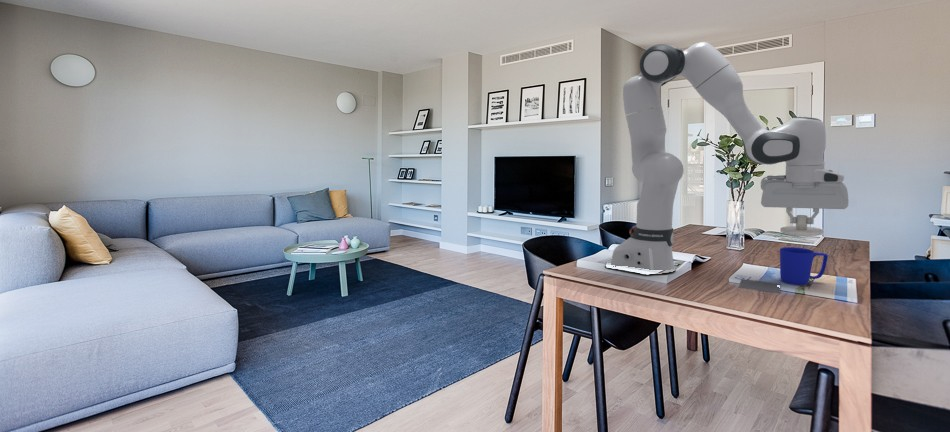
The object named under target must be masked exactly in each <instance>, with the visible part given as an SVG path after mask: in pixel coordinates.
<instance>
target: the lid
mask: <svg viewBox="0 0 950 432" xmlns="http://www.w3.org/2000/svg"><path fill="white" fill-rule="evenodd" d="M795 217H797V219H796V224H795V225H789V226H782V227H780V230H779V231H780V233H782V234H786V235H790V236H797V237H798V236H800V237H816V236H822V235H823V234H824V230H823V229H822V228H818V227H813V226H808V224H807V218H808V217H809V215H806V214H798V215H796V216H795Z"/></svg>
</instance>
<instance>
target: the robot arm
mask: <svg viewBox="0 0 950 432" xmlns="http://www.w3.org/2000/svg"><path fill="white" fill-rule="evenodd" d="M639 70H640V72H639V74H638V75H637V74H636V75H634V76H632V77H630V78H629V79H628V80H626V81H625V82H624V84H623V87H622V98H623V99H622V100H623V101H622V102H623V108H624V113H625V119H626V123H627V128H628V132H629V137H630V145H631V146H630V147H631V148H630V149H631V160H632V166H631V170H632V174H633V176H634V178H635V179H636V180H637V181H638V182H640V183H641V191H640V194H639V195H640V196H639V199H638V201H637V203H636V225H633V226H632V227H631V228H630V229H629V231H628V232H629V235H630V237H628V238H627V239H625V240H624V241H623V242H621V243H620V244H619V245H617V246H616V247H615V248H614V249H613V252H612V255H611V259H608V260H607V261H606V262H608V263H611V265H615V267H616V266H628V267H635V268H644V269H649V270H671V269H674V268H675V269H676V267H675V262H674V256H673V244H674V237H675V236H674V235H675V234H674V228H673V213H674V212H673V211H674V203H675V198H676V193H677V190H678V186H679V182H680V180H682V177H683V174H684V165H683V163H682V161H681V160H680V159H679V158H678V157H677V156H676V155H674V154H672V153H670V152H666V134H667V126H666V120H665V115H664V110H663V106H662V102H661V101H662V100H661V98H660V97H661V96H660V90H661V87H663V86H664V85H666V84H668V83H669V82H671V81H673V80H674V79H675V78H676V77H683V78H684V79H686V80H687V81H688V82H689V83H690V84H691V86H692V87H693V89H694V90H695V91H696V92H697V93H698V94H699V96H700V97H701V98H702V99H703V100H704V101H705V102H706V103H707V104H709V105H710V106H711V107H713V109H715V110H716V111H718V112H719V113H720V114H721V115H722V116H724V118H725V119H726V120H727V121H728V123H729V124H730V125H731V126H732V128H733V129H734V131H735V132H736V133H737V135H738V136H739V138H740V139H741V140H742V146H743V149H744V150H743V151H744V155H745V156H746V158H747V159H748V160H749V161H750V162H751V163H754V164H756V165H768V166H771V165H777V164H779V163H783V162H785V175H784V174H783V175H781V174H780V175H779V174H778V175H767V176H765V177H762V179H761V180H760V189H761V190H762V193H761V200H760V204H761V206H762V207H763V208H783V209H786V214H787V215H788V216H789V218H790V220H789V222H790V223H789V224H795V225H796V219H797V217H796V216H794V215H793V213H792V211H793V209H812V213H813V214H812V215H811V216H810V217H809V216H808V218H807V225H814V223H815V222H814V221H815V218H816V217H817V216H818V215H819V213H820V210H821V209H823V210H826V209H827V210H846V209H847V208H849V194H848V193H849V192H848V187H847V185H846V184H845V183H844V182H843V181H844V180H845V175H844V174H843V173H841V172H839V171H837V172H836V171H833V170H831V169H826V168H825V160H824V154H825V153H824V152H825V151H826V145H827V144H826V143H827V142H826V141H827V140H826V139H827V134H826V125H825V123H824V122H823V121H822V120H821V119H819V118H817V117H807V116H803V117H802V116H797V117H792V118H791V119H790V120H788V121H787V122H785V123H783V124H781V125H779V126H776V127H774V128H771V129H767V128H765V127H763V125H761V124H760V121H758V119H757V118H756V117H755V115H754V114H753V113H752V111H751V110H750V109H749V107H748V106H747V104H746V102H745V98H744V91H743V90H744V84H743V81H742V80H741V77H740V76H739V73H738V72H737V71H736V69H735V67H734V66H733V65H732V64H731V62H730V61H729V59H727V57H725V56H724V54H723V53H721V52H720V51H719V50H718V49H717V48H716V47H714V46H713V45H712V44H711V43H709V42H707V41H700V42H696V43H694V44H692V45H690V46H688V48H686V49H684V50H682V49H680V48H678V47H675V45H672V44H667V43H661V44H660V43H659V44H655V45H653V46H650V47H649V48H647V49H645V51H644V52H643V53H642V55H641V57H640V59H639ZM613 267H614V266H613Z"/></svg>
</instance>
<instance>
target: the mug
mask: <svg viewBox="0 0 950 432" xmlns="http://www.w3.org/2000/svg"><path fill="white" fill-rule="evenodd" d="M817 256H823V259H822V264H821V268H820V271H819V273H818V274H816V275H813V276H812V275H811V273H812V272H811V271H812V267H813V263H814V262H813V261H814V258H815V257H817ZM828 257H829V254H827V253H824V252H815V251H814V250H812V249H808V248H803V247H792V246H791V247H790V246H787V247H786V246H785V247H780V249H779V263H780V264H779V273H780V274H779V275H780V276H779V277H780V281H782V282H783V283H785V284H789V285H794V286H804V285H805V286H806V285H807V284H808V283H809V281H810V279H814V280H815V279H816V280H818V279H820V278H821V277H823V275H824V273H825V270H826V268H827V263H828V259H829V258H828Z"/></svg>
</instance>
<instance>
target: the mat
mask: <svg viewBox="0 0 950 432" xmlns="http://www.w3.org/2000/svg"><path fill="white" fill-rule="evenodd" d="M777 285H781V286H782V284H781V283H779V282H778V283H776V282H769V281H761V280H753V279H745V278H741V279H740V282H739V284H738V289H746V290H753V291H762V292H768V293H774V294H775V293H776V294H781V287H780V288H779V287H777Z"/></svg>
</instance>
